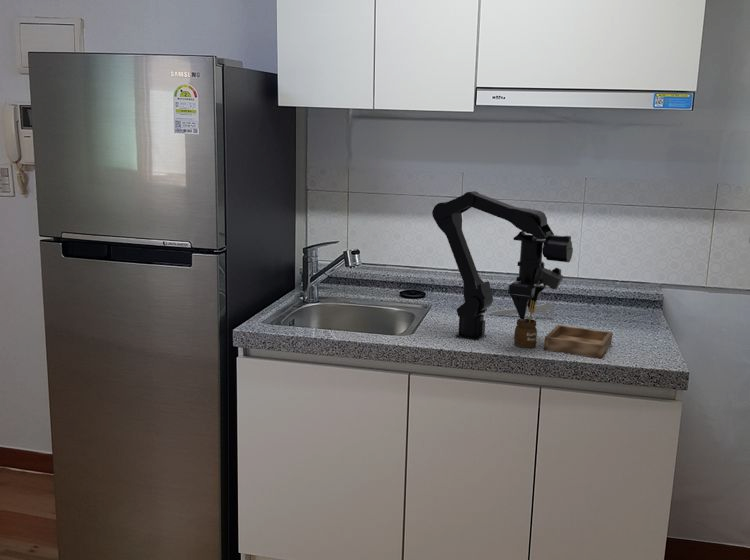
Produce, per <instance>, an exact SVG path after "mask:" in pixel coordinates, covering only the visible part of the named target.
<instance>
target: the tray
mask: <svg viewBox="0 0 750 560" xmlns="http://www.w3.org/2000/svg"><path fill="white" fill-rule="evenodd" d="M612 340H613V332H611V331H605V330H598V329H591V328H590V329H588V328H584V327H583V328H582V327H576V326H575V327H574V326H568V325H562V324H561V325H560V324H557V325H556V326H555V327H554V328H553V329H552V330H551V331H550V332H549V333H547V335H545V337H544V343H543V350H544V351H548V350H549V351H550V352H555V351H556V352H555V353H561V352H564V353H563V354H568V353H570V354H569V355H574V354H577V355H576V356H581V355H583V357H587V356H589V357H588V358H594V357H595V358H596V359H600V358H602V359H603V357H604V356H605V355H606V353H607V352H608V350H609V349H610V348H611V346H612ZM608 348H609V349H608ZM606 351H607V352H606Z"/></svg>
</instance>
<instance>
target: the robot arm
mask: <svg viewBox="0 0 750 560" xmlns="http://www.w3.org/2000/svg"><path fill="white" fill-rule="evenodd" d="M471 208H472V209H476V210H479V211H481V212H485V213H487V214H489V215H491V216H495V217H497V218H499V219H502V220H505V221H507V222H509V223H511V224H512V225H513V226H514V227H515V228H517V229H518V230H520V231H519V232H518V234H516V235H515V236H514V237H513V238H512V239H513V240H514V241H519V242H520V252H519V254H520V255H519V260H518V261H517V265H516V266H517V267H519V268H518V276H517V277H516V280H515V281H513V282H512V283H510V285H508V289H507V293H508V294H509V296H510V297H511V299H512V302H513V303H514V307H515V309H517V312H518V313H517V314H518V317H520V318H519V319H526V317H525V314H526V315H527V312H526V310H527V307H528V309H529V308H530V303H531V300H532V303H533V301H534V304H535V301H536V303H537V302H538V299H539V297H540V294H541V292H542V291H543V290H545V289H546V288H547V287H549V288H550V289H552V290H557V289H558V288H559V287H560V285H561V284H562V283H561V282H562V281H563V279H564V275H562V269H560V268H558V267H555V268H554V269H552V270H551V269H550V268H549V269H548V268H545V263H544V261H543V258H545V259H546V261H551V262H552V261H554V262H562V263H563V262H564V263H570V262H571V260H572V256H573V252H574V251H573V250H574V247H573V243H572V237H571V235H555V234H554V231H553V230H552V229H551V226H549V223H548V220H547V216H546V214H545V213H544V211H541V210H538V209H532V208H524V207H518V206H515V205H511V204H509V203H506V202H502V200H501V201H500V200H497V199H494V198H493V197H489V196H487V195H484V194H482V193H479V192H478V191H475V190H474V191H473V190H472V191H468V192H465V193H464V194H462V195H460V196H459V197H455V198H454V199H451V200H449V201H443V202H439V203H437V204H436V205H434V206H433V209H432V212H431V216H432V218H433V220H434V221H435V223H436V225H437V227H438V228H439V229H440V231H442V233H443V234H444V236H446V239H447V242H448V244H449V247H450V250H451V253H452V256H453V258H454V261H455V263H456V266H457V269H458V271H459V274H460V277H461V280H462V282H463V288H462V289H463V293H462V294H463V298H464V299H463V300H464V302H463V303H462V304H461V305H459V307H457V308H456V312H457V313H456V314H457V316H458V333H457V334H456V335H455V336H456V337H458V338H464V339H471V340H477V341H478V340H480V339H481V338H482V337H484V336H485V334H486V320H484V319H485V315H484V314H485V313H486V311H487V309H488V308H490V306H491V305H492V304H493V301H494V297H493V295H495V293H494V292H493V290H492V288H491V283H490V281H489V280H487V281H483V280H482V279H481V277H480V275H479V273H478V270H477V267H476V265H475V261H474V259H473V257H472V253H471V251H470V248H469V246H468V243H467V240H466V238H465V234H464V232H463V217H462V214H463V213H465V212H467V211H468V210H469V209H471ZM531 308H532V304H531ZM533 309H534V305H533Z"/></svg>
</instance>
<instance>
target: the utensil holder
mask: <svg viewBox="0 0 750 560" xmlns="http://www.w3.org/2000/svg"><path fill="white" fill-rule="evenodd" d="M531 304H532V308H531ZM533 305H534V309H533ZM535 305H537V302H536V301H535V304H534V301H533V303H532V300H531V303H530V308H529V312H528V311H527V312H526V314H525V318H524V319H520V317H519V316H518V317H519V318H518V319H517V320H516V326H515V329H514V336H513V337H514V338H513V342H514V345H515V346H516V347H517V348H520V349H533V348H536V346H537V338H538V330H537V327H536V326H537V321H536V320H535V319H532V315H533V314H532V313H534V311H535ZM528 313H530V314H529V318H528V315H527V314H528Z"/></svg>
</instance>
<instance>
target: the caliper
mask: <svg viewBox="0 0 750 560" xmlns="http://www.w3.org/2000/svg"><path fill="white" fill-rule="evenodd" d="M527 311H528V313H530V312H529V309H528V306H527V310H526V313H527ZM547 311H549V312H550V317H551V320H554V317H555V307H554V304H553V303H551V300H549V301H547V300H545V303H541V304H536V305H535V311H534V313H532V315H534V314H541V313H542V315H543V316H544V318H545V320H548V319H547V318H548V314H547V313H548V312H547ZM514 314H515V315H516V314H518V312H517V309H516V308H507V309H499V310H492V311H491V312H488V313H487V316H493V317H494V316H505V315H507V316H508V315H514Z"/></svg>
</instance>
